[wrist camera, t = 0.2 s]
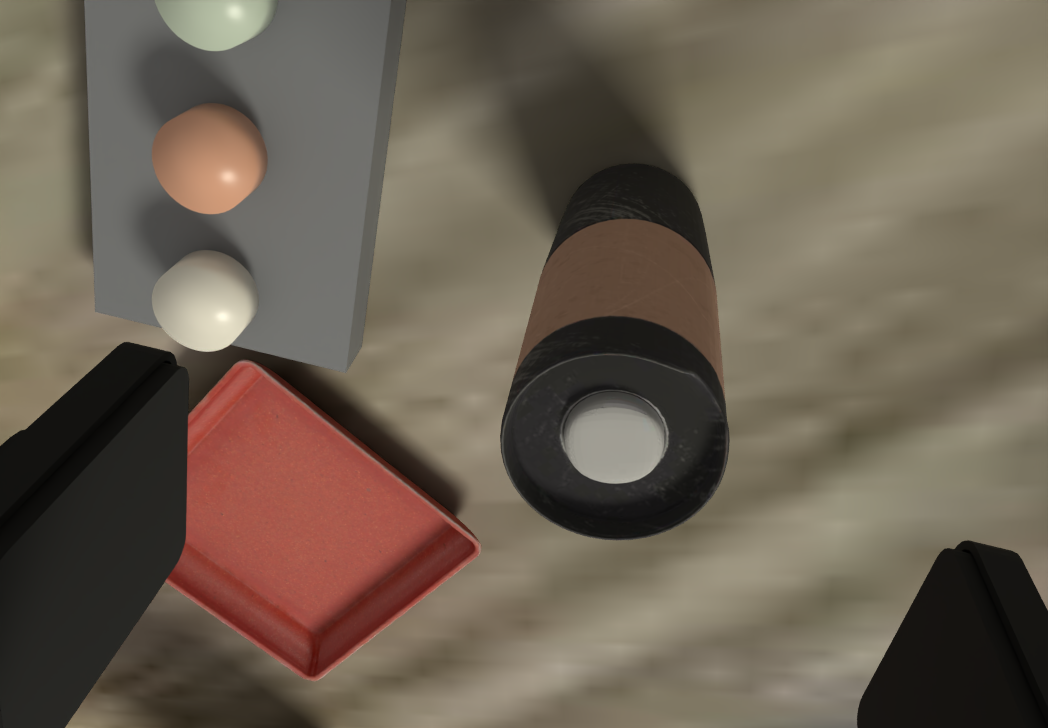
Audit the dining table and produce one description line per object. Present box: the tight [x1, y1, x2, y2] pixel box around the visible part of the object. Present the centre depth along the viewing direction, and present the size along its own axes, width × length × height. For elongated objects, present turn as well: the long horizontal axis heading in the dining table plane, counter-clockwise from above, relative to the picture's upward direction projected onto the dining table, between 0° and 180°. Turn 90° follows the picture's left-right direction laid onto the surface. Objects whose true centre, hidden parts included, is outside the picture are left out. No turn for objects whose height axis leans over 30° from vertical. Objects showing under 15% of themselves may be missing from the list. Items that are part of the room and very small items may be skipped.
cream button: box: [152, 250, 259, 352], centre depth 47 cm, size 5×5×2 cm
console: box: [84, 0, 406, 373], centre depth 47 cm, size 22×14×3 cm, turn 169°
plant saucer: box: [165, 359, 481, 681], centre depth 59 cm, size 18×18×3 cm
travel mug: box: [500, 164, 729, 540], centre depth 39 cm, size 8×8×20 cm
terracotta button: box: [152, 103, 268, 214], centre depth 44 cm, size 5×5×2 cm
